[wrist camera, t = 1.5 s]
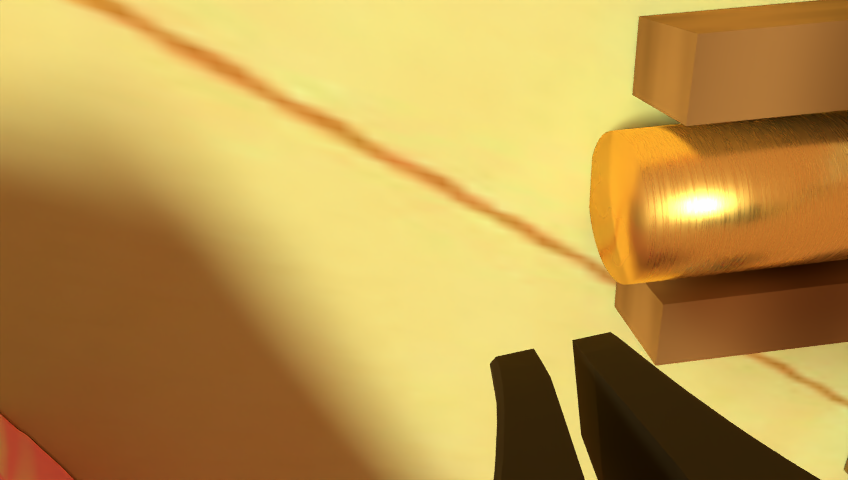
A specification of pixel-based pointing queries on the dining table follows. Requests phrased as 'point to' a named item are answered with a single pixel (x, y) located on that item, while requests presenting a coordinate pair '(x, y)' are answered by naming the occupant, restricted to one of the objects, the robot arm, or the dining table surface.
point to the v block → (846, 467)
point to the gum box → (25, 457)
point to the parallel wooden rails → (735, 101)
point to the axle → (721, 196)
